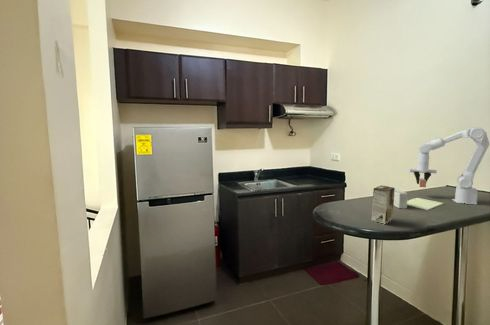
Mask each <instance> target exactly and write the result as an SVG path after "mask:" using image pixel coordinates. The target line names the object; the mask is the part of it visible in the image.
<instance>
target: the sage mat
mask: <svg viewBox="0 0 490 325" xmlns="http://www.w3.org/2000/svg"><path fill="white" fill-rule="evenodd" d="M442 205H444V202H441V201H435V200H431V199H426V198H420V197H416V198H411V199H409V200H408V199H407V207H408V206H409V207H413V208H417V209H422V210H426V211H429V210H432V209H434V208H437V207H440V206H442Z"/></svg>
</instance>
